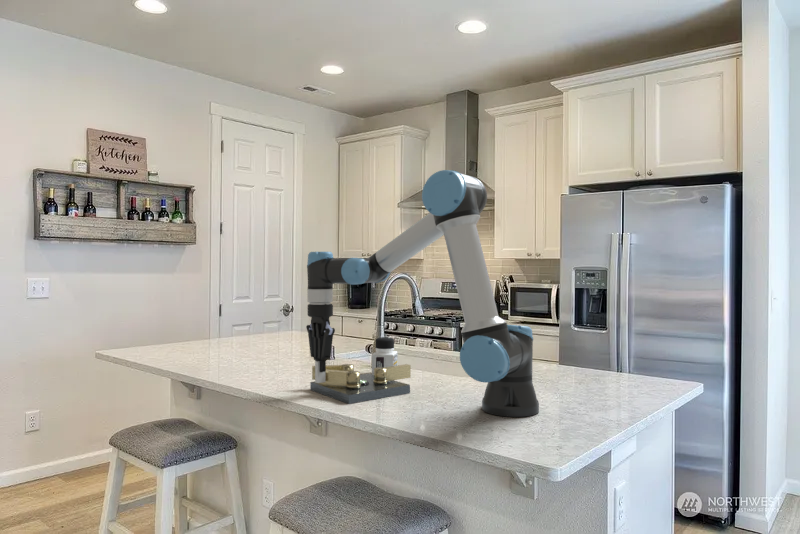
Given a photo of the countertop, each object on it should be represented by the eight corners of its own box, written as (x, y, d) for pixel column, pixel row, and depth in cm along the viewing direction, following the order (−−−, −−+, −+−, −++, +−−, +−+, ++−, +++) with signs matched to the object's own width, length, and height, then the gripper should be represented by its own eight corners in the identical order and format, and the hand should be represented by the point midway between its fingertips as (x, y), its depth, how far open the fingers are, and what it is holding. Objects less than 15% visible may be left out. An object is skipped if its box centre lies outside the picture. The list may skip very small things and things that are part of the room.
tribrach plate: (410, 393, 177) (410, 382, 177) (348, 403, 164) (348, 392, 164) (368, 381, 195) (368, 371, 195) (310, 390, 181) (310, 379, 181)
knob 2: (378, 384, 176) (378, 370, 176) (370, 382, 179) (370, 368, 179) (412, 379, 184) (412, 365, 184) (404, 376, 188) (404, 363, 187)
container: (393, 376, 202) (393, 339, 201) (371, 376, 203) (371, 338, 203) (397, 372, 209) (397, 336, 209) (376, 371, 211) (376, 335, 210)
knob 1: (363, 385, 174) (363, 371, 174) (356, 389, 170) (356, 374, 170) (324, 382, 179) (324, 368, 179) (317, 385, 175) (317, 370, 175)
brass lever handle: (353, 377, 187) (353, 363, 187) (355, 379, 183) (355, 366, 183) (312, 378, 185) (312, 365, 185) (312, 381, 180) (312, 367, 180)
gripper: (342, 303, 171) (342, 384, 171) (320, 301, 181) (320, 377, 182) (320, 305, 166) (320, 387, 167) (298, 302, 177) (298, 380, 177)
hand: (320, 382), depth 174 cm, fingers closed
